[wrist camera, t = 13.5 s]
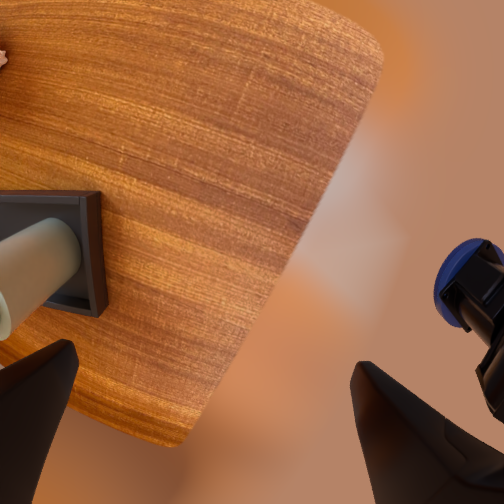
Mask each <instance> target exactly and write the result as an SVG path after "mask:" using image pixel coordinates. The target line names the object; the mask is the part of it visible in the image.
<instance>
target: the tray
mask: <svg viewBox="0 0 504 504" xmlns="http://www.w3.org/2000/svg"><path fill="white" fill-rule="evenodd" d="M46 218H56V219H59V220H61V221H63V222H64V223H66V224H67V225H68V226H69V227H70V228H71V229H72V231H73V232H74V234H75V235H76V237H77V239H78V242H79V245H80V249H81V264H80V268H79V270H78V272H77V273H76V274H75V275H74V276H73V277H72V278H71V279H70V280H69V281H68V282H66V283H65V284H64V285H63V286H62V287H61V288H60V289H59V290H57V291H56V292H55V293H54V294H53V295H52V296H51V297H50V298H49V299H47V300H46V301H45V302H44V303H43V304H42V305H41V306H45V307H49V308H53V309H58V310H62V311H67V312H71V313H76V314H81V315H86V316H92V317H96V318H99V316H100V315H101V314H102V313H103V311H104V310H105V309H106V307H107V306H108V305H109V304H108V296H107V288H106V279H105V270H104V259H103V246H102V230H101V204H100V191H76V190H0V241H2V240H4V239H5V238H7V237H9V236H11V235H13V234H15V233H17V232H19V231H21V230H23V229H25V228H27V227H29V226H31V225H33V224H35V223H37V222H39V221H41V220H43V219H46Z"/></svg>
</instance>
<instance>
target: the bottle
mask: <svg viewBox="0 0 504 504" xmlns="http://www.w3.org/2000/svg"><path fill="white" fill-rule="evenodd" d="M80 264H81V249H80V245H79V242H78V239H77V237H76V235H75V234H74V232H73V231H72V229H71V228H70V227H69V226H68V225H67V224H66V223H64V222H63V221H61V220H59V219H56V218H46V219H43V220H41V221H39V222H37V223H35V224H33V225H31V226H29V227H27V228H25V229H23V230H21V231H19V232H17V233H15V234H13V235H11V236H9V237H7V238H5V239H4V240H2V241H0V340H5V339H7V338H8V337H9V336H10V335H11V334H12V333H13V332H14V331H15V330H16V329H17V328H18V327H19V326H20V325H21V324H22V323H23V322H24V321H25V320H26V319H27V318H28V317H29V316H30V315H31V314H32V313H34V312H35V311H36V310H37V309H38V308H39V307H40V306H41V305H42V304H43V303H44V302H45V301H46V300H47V299H49V298H50V297H51V296H52V295H53V294H54V293H55V292H56V291H57V290H59V289H60V288H61V287H62V286H63V285H64V284H65V283H66V282H68V281H69V280H70V279H71V278H72V277H73V276H74V275H75V274H76V273H77V272H78V270H79V268H80Z"/></svg>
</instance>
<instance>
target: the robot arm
mask: <svg viewBox="0 0 504 504" xmlns="http://www.w3.org/2000/svg"><path fill="white" fill-rule="evenodd" d="M486 246H487V247H486ZM444 294H446V295H445V296H444ZM439 298H440V299H441V301H442V302H443V303H444V304H445V306H446V307H447V308H448V309H449V311H450V312H451V313H452V315H453V316H454V317H455V319H456V320H457V321H458V323H459V324H460V325H461V327H462V328H463V329H464V330H465V332H467V333H468V332H470V331H471V330H472V329H473V330H474V331H475V333H476V334H477V335H478V336H479V337H480V338H481V339H482V340H483V342H484V343H485V344H486V345H487V346H488V347H489V350H488V351H487V353H486V355H485V357H484V358H483V360H482V362H481V363H480V364H479V365H478V366H477V368H476V370H475V371H476V374H477V377H478V379H479V382H480V385H481V388H482V391H483V394H484V397H485V400H486V403H487V406H488V408H489V410H490V412H491V413H492V414H493V417H495V418H496V419H498V420H499V421H501V422H502V423H503V424H504V266H503V264H502V262H501V260H500V258H499V256H498V254H497V252H496V250H495V248H494V246H493V245H492V243H491V242H490V241H489V240H484V241H483V242H482V243H481V245H480V246H479V247H478V248H477V250H476V251H475V252H474V253H473V254H472V256H471V257H470V258H469V259H468V260H467V262H466V263H465V264H464V265H463V266H462V268H461V269H460V270H459V271H458V272H457V273H456V274H455V276H454V277H453V278H452V279H451V280H450V281H449V282H448V283H447V284H446V286H445V287H444V288H443V289H442V290H441V291H440V293H439ZM78 367H79V359H78V356H77V353H76V349H75V346H74V343H73V342H72V341H70V340H66V339H60V340H58V341H56V342H54V343H52V344H50V345H48V346H46V347H44V348H42V349H40V350H38V351H36V352H35V353H33V354H31V355H29V356H27V357H25V358H23V359H21V360H19V361H17V362H15V363H13V364H11V365H9V366H7V367H5V368H3V369H1V370H0V504H32V502H31V501H32V500H33V497H34V494H35V490H36V487H37V484H38V481H39V478H40V475H41V472H42V469H43V466H44V463H45V460H46V457H47V454H48V452H49V449H50V446H51V443H52V441H53V438H54V435H55V433H56V430H57V428H58V425H59V422H60V420H61V418H62V415H63V413H64V410H65V408H66V405H67V403H68V400H69V396H70V393H71V390H72V386H73V383H74V380H75V377H76V374H77V371H78ZM350 390H351V396H352V402H353V408H354V416H355V422H356V428H357V431H358V436H359V440H360V443H361V447H362V451H363V454H364V458H365V462H366V466H367V470H368V474H369V478H370V482H371V486H372V490H373V495H374V499H375V503H376V504H504V454H503V453H501V452H499V451H498V450H496V449H494V448H492V447H491V446H489V445H487V444H485V443H484V442H482V441H480V440H478V439H477V438H475V437H473V436H472V435H470V434H469V433H467V432H465V431H464V430H463V429H461V428H460V427H458V426H457V425H455V424H454V423H453V422H451V421H450V420H448V419H447V418H446V419H445V417H444V416H443V415H441V414H440V413H439V412H438V411H436V410H435V409H433V408H432V407H431V406H429V405H428V404H427V403H425V402H424V401H423V400H421V399H420V398H418V397H417V396H416V395H415V394H413V393H412V392H410V391H409V390H408V389H407V388H405V387H404V386H403V385H401V384H400V383H399V382H397V381H396V380H395V379H393V378H392V377H390V376H389V375H388V374H387V373H385V372H384V371H383V370H381V369H380V368H379V367H377V366H376V365H375V364H373V363H372V362H370V361H359V362H358V363H357V364H356V366H355V369H354V372H353V375H352V378H351V381H350Z"/></svg>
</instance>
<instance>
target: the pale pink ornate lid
mask: <svg viewBox="0 0 504 504" xmlns="http://www.w3.org/2000/svg"><path fill="white" fill-rule="evenodd" d="M5 53H6V51H0V68H1V66H2V65H3V64H5V63H6V62H7V61H8V60H7V58H6V57H5Z"/></svg>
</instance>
